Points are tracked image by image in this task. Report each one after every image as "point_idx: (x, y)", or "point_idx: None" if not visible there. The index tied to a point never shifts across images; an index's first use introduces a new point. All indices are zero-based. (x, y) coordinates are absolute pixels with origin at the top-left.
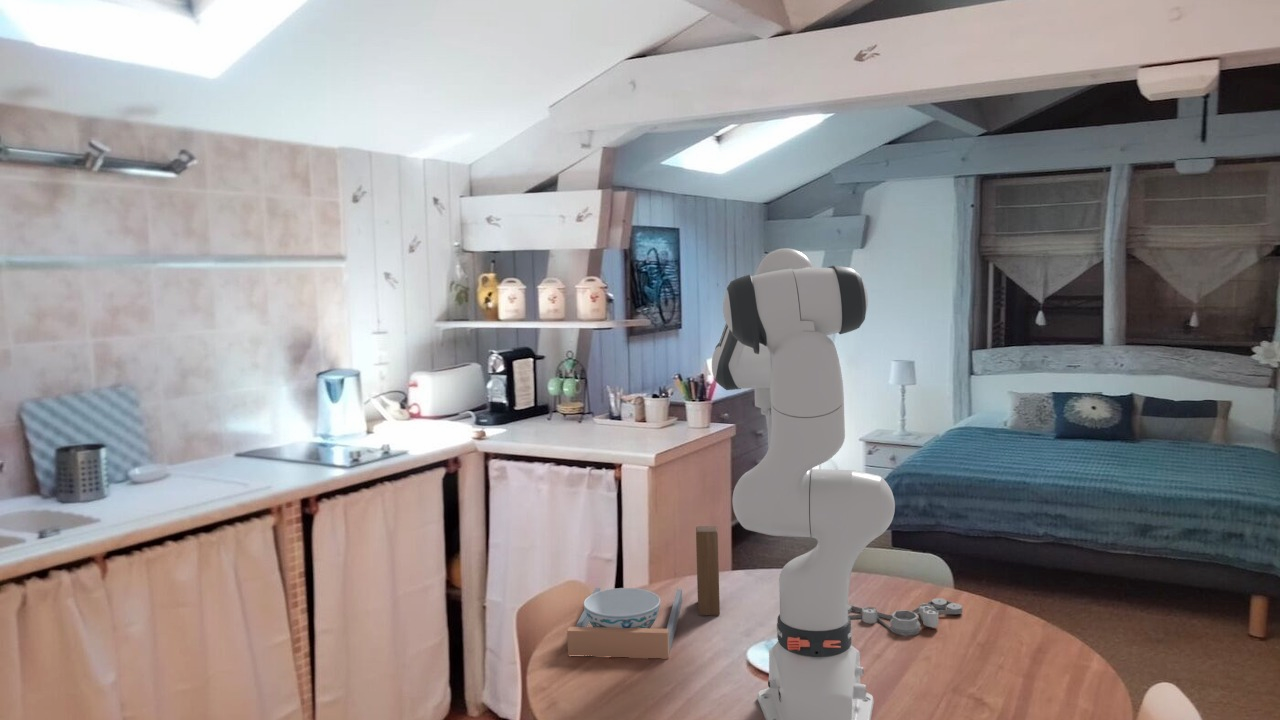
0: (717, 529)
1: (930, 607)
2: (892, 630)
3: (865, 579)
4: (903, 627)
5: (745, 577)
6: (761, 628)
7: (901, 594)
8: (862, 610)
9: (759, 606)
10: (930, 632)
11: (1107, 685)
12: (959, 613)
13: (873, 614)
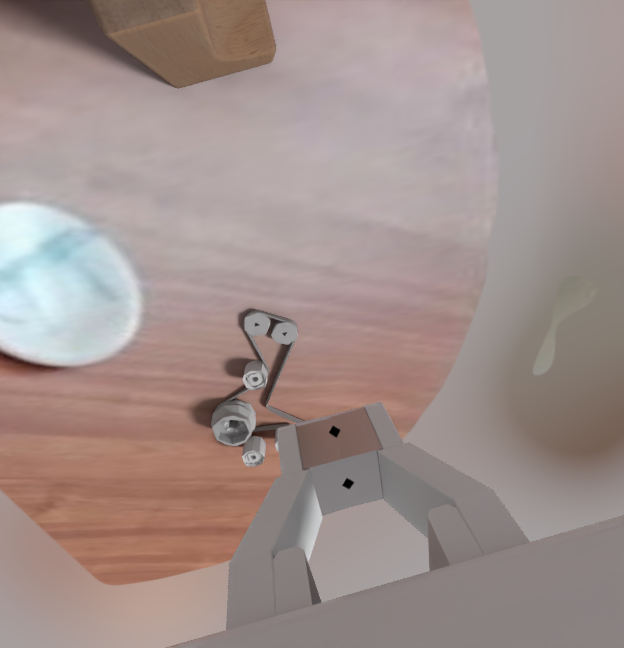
0: (164, 23)
1: None
2: (221, 404)
3: (440, 335)
4: (213, 424)
5: (440, 98)
6: (146, 205)
7: (377, 390)
8: (252, 370)
9: (264, 174)
10: None
11: (157, 575)
12: None
13: (245, 384)
